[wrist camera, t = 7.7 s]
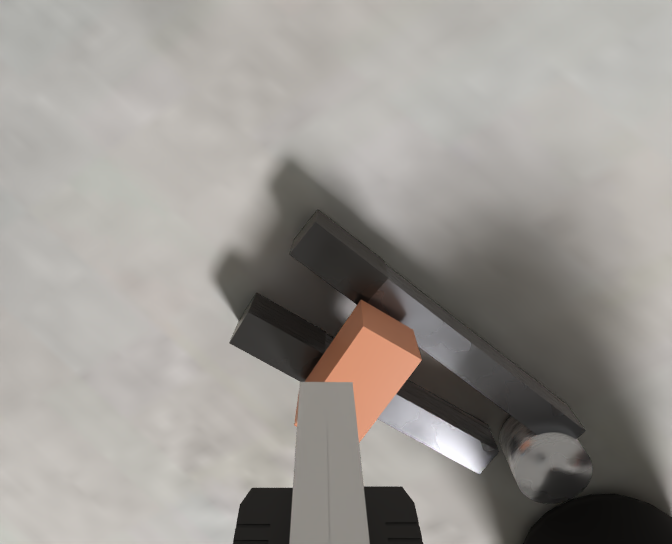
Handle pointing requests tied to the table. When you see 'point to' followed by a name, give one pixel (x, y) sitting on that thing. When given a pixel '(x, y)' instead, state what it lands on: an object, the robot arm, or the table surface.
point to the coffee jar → (602, 522)
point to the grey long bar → (460, 362)
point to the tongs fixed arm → (403, 410)
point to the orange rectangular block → (369, 361)
